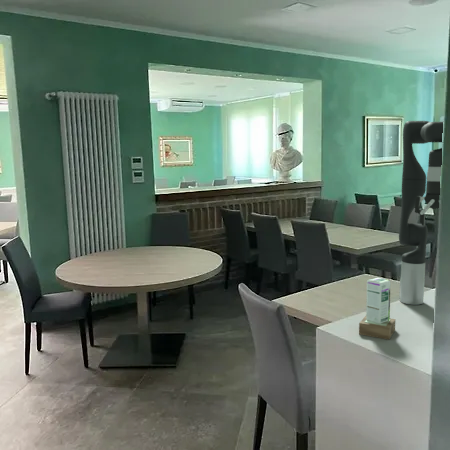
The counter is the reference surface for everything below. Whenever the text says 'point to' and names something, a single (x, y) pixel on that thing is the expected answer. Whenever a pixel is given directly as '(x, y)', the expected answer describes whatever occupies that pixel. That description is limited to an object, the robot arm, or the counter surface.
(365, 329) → the plinth
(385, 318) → the syrup box
